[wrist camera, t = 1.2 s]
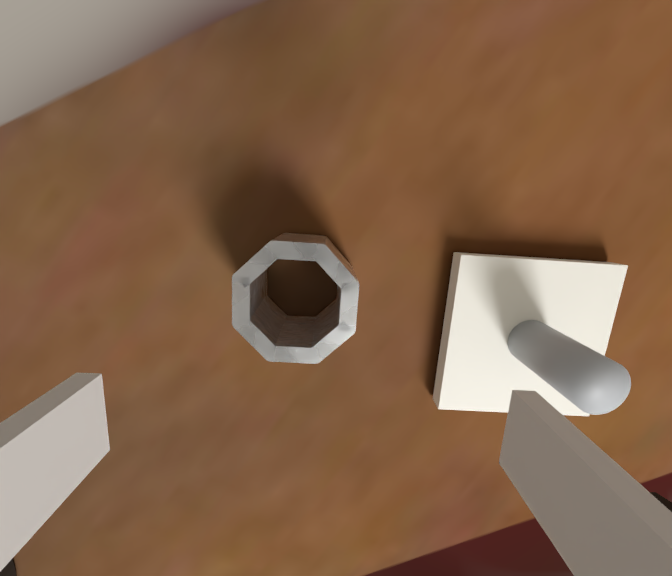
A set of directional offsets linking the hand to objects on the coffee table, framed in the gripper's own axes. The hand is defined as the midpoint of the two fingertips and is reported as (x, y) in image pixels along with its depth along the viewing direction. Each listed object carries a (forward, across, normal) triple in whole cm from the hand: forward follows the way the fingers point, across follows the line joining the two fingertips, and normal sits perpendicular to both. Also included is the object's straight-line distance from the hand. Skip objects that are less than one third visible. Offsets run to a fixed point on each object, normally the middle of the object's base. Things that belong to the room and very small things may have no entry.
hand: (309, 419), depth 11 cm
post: (+15, +16, -2) cm, 22 cm away
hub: (+15, -1, +1) cm, 15 cm away
